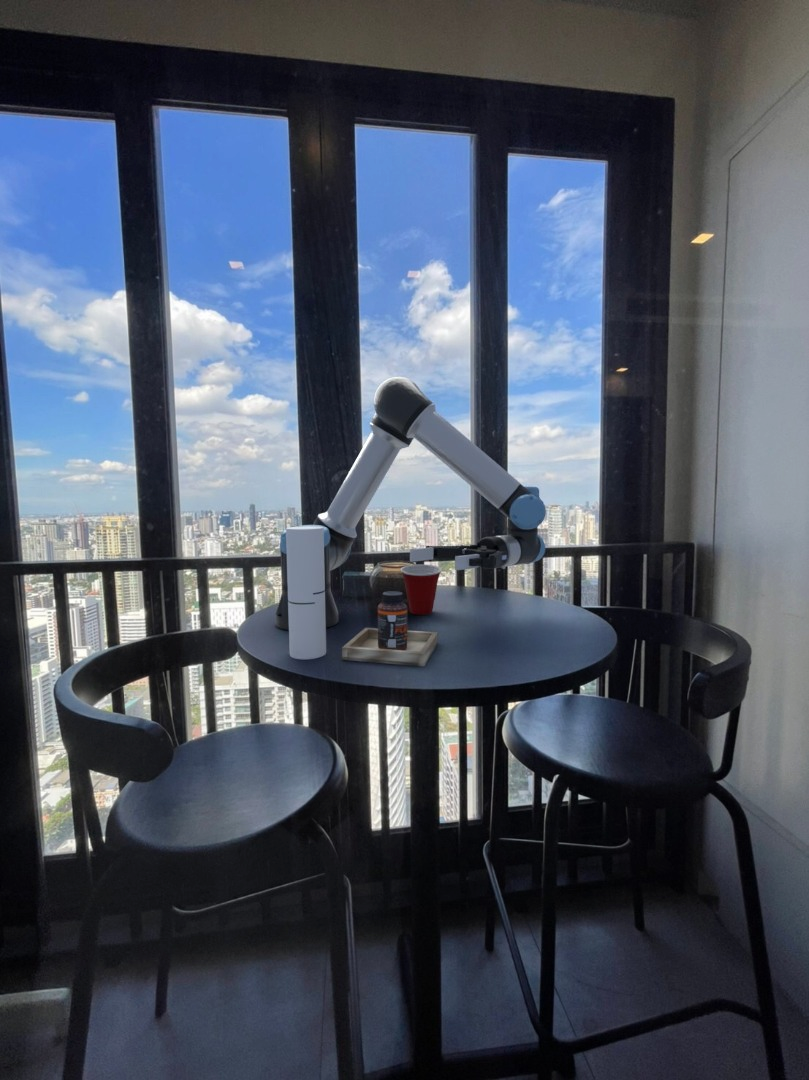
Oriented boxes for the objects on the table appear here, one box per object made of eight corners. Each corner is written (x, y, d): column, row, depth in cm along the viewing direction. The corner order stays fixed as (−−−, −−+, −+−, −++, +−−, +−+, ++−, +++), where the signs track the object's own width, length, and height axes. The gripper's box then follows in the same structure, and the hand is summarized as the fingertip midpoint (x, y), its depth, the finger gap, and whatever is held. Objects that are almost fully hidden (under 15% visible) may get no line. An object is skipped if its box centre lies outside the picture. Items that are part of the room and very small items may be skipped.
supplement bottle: (399, 655, 95) (398, 597, 94) (372, 650, 98) (371, 594, 97) (412, 646, 101) (412, 591, 100) (386, 642, 103) (386, 588, 102)
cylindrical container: (333, 653, 99) (330, 527, 96) (303, 662, 93) (299, 530, 91) (312, 645, 104) (309, 525, 101) (282, 653, 98) (278, 528, 96)
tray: (342, 659, 95) (342, 647, 94) (365, 638, 108) (365, 627, 108) (424, 666, 91) (424, 653, 91) (437, 643, 104) (437, 632, 104)
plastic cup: (398, 617, 126) (398, 570, 124) (402, 607, 136) (401, 564, 135) (441, 618, 125) (441, 571, 124) (441, 608, 136) (441, 564, 134)
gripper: (541, 575, 109) (477, 586, 95) (457, 561, 127) (394, 568, 114) (543, 541, 108) (478, 547, 94) (458, 532, 127) (394, 536, 113)
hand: (432, 559), depth 104 cm, fingers open, 13 cm apart
